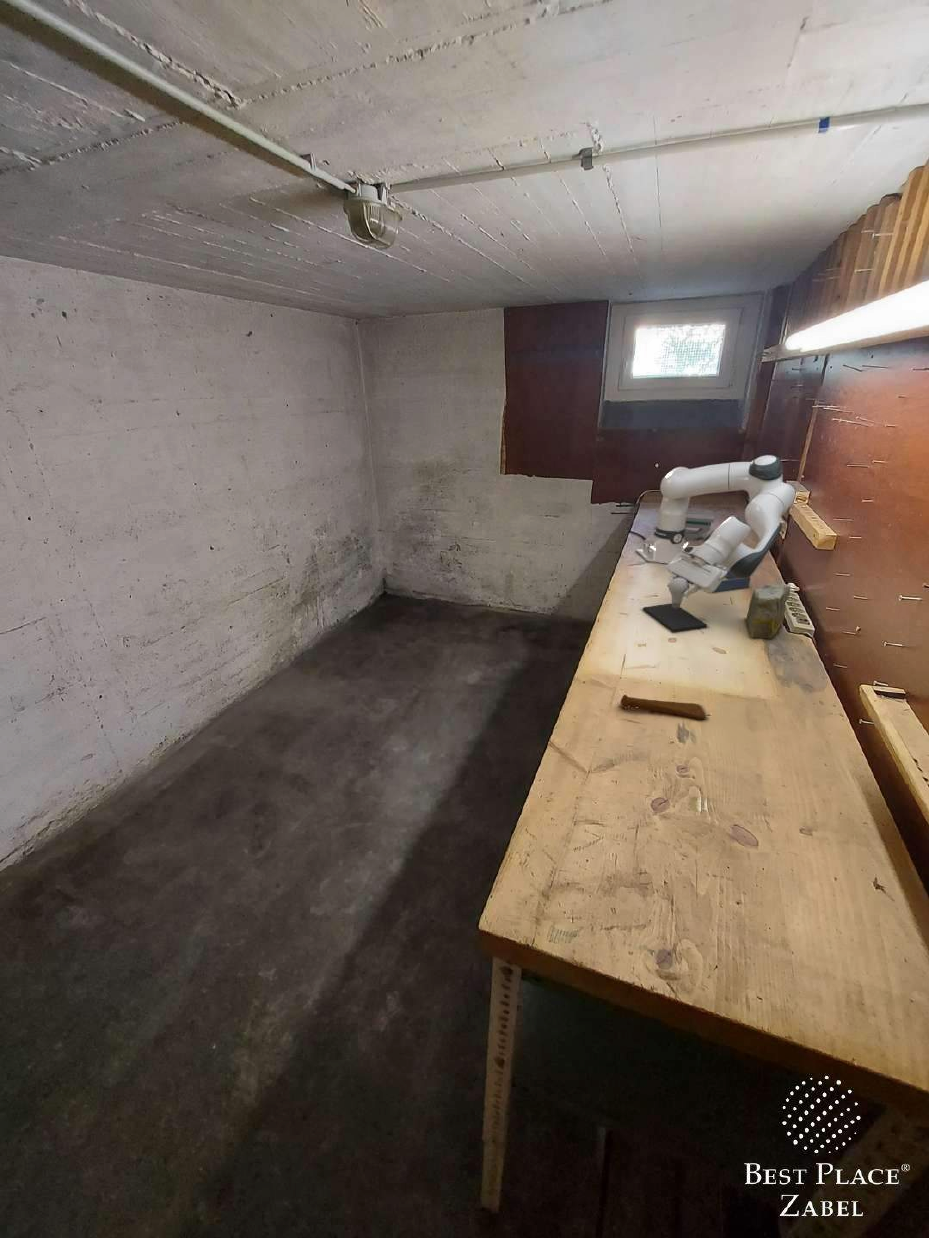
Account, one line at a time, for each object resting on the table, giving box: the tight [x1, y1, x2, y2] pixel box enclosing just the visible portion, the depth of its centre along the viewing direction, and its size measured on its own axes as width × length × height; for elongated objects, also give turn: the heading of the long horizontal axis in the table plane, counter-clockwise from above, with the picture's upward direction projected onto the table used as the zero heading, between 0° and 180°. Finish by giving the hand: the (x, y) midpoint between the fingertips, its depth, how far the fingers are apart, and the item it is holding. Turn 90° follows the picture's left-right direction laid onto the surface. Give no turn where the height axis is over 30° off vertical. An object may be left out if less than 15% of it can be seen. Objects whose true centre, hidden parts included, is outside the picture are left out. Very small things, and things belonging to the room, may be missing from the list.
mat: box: [642, 602, 708, 633], centre depth 163 cm, size 18×12×1 cm, turn 12°
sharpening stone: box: [684, 513, 716, 541], centre depth 242 cm, size 25×8×11 cm, turn 62°
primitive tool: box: [620, 694, 706, 720], centre depth 117 cm, size 19×6×4 cm, turn 82°
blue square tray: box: [713, 570, 751, 593], centre depth 188 cm, size 16×16×4 cm
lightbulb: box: [668, 578, 690, 609], centre depth 159 cm, size 6×6×11 cm
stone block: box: [746, 583, 791, 639], centre depth 150 cm, size 10×15×15 cm
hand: (676, 591), depth 159 cm, fingers closed on lightbulb, 6 cm apart
